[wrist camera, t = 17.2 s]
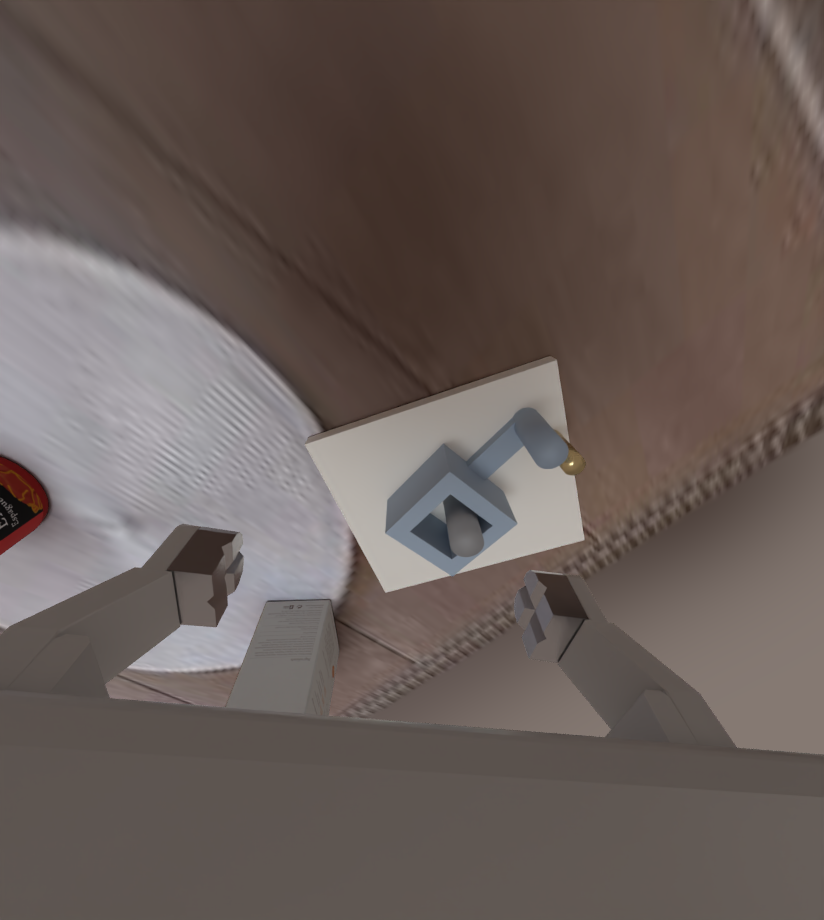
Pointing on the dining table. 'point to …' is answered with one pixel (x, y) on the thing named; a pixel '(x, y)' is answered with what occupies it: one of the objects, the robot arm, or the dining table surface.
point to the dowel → (572, 459)
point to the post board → (464, 431)
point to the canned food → (19, 504)
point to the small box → (289, 660)
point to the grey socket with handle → (468, 489)
